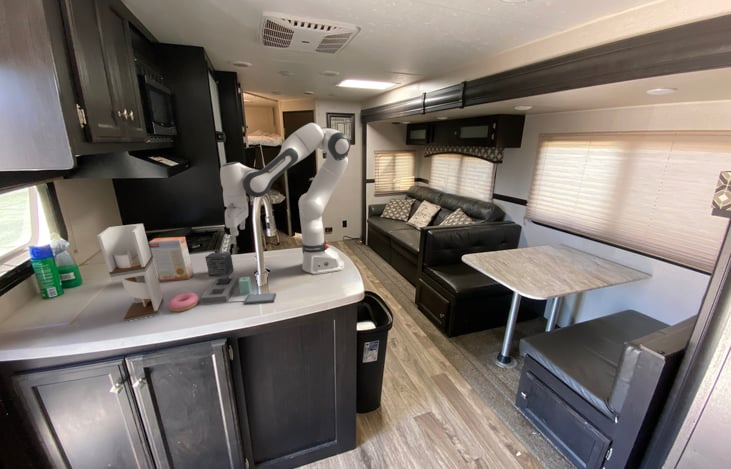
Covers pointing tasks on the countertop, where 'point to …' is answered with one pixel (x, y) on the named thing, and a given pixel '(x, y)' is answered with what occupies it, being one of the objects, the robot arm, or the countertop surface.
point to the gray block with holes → (220, 290)
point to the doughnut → (183, 302)
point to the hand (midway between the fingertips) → (239, 232)
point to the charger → (245, 285)
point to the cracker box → (171, 258)
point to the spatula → (258, 299)
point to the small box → (219, 264)
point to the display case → (133, 268)
